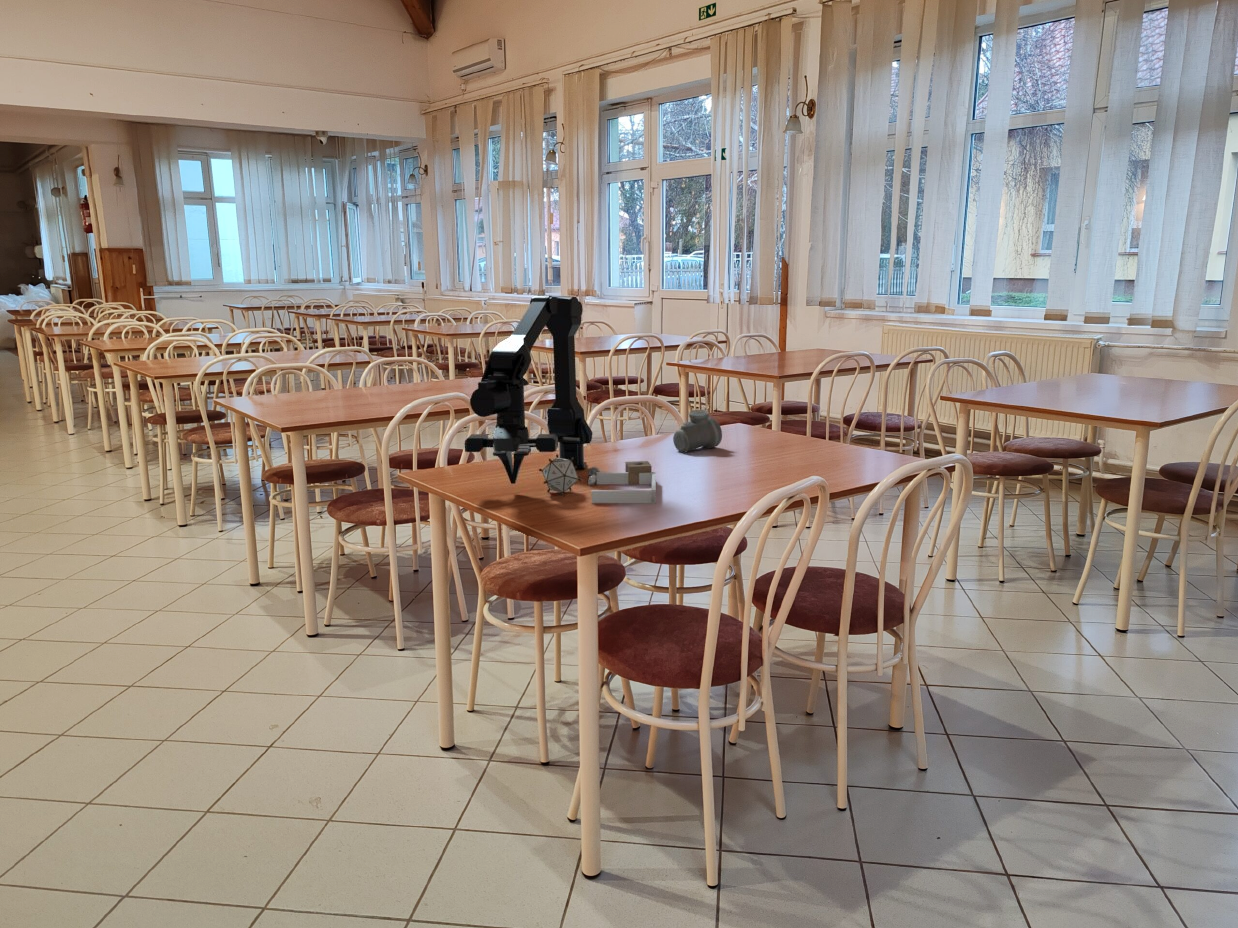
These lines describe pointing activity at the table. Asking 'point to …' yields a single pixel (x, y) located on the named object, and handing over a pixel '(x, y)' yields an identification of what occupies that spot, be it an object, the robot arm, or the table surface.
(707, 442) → the pipe fitting
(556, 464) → the game die
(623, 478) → the tray
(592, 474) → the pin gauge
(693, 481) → the table surface
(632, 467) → the drilled block
